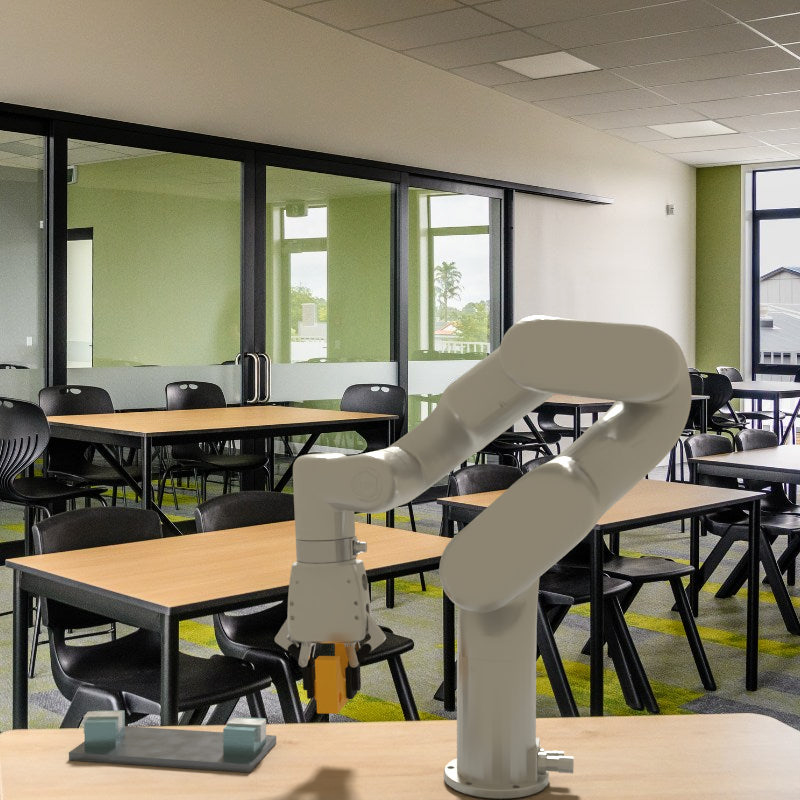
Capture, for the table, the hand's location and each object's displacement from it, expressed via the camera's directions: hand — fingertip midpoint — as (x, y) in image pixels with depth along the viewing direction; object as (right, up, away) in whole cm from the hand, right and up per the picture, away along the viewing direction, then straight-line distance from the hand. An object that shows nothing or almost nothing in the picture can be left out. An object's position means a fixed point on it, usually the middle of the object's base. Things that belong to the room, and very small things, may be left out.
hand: (332, 694), depth 136 cm
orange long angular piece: (0, -1, 0) cm, 1 cm away
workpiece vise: (-21, -9, +4) cm, 23 cm away
